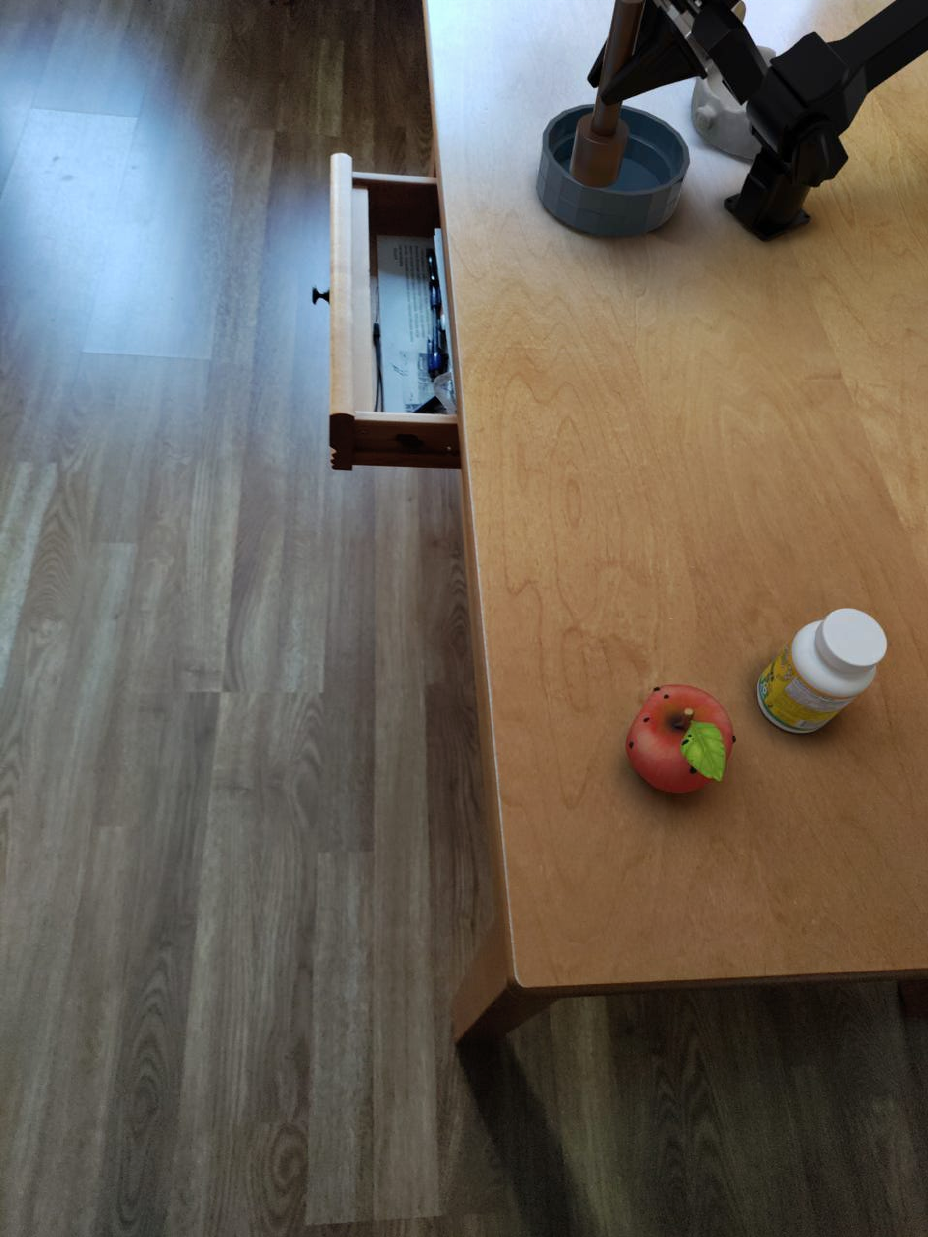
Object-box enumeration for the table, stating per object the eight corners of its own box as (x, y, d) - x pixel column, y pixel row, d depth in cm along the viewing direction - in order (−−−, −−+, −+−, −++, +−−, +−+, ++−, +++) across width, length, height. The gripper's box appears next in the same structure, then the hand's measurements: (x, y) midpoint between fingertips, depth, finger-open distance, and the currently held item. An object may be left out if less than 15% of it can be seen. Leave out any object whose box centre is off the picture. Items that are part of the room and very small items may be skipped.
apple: (592, 732, 58) (627, 670, 50) (678, 698, 60) (726, 632, 51) (647, 837, 55) (694, 790, 46) (735, 798, 57) (797, 745, 48)
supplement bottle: (805, 750, 59) (874, 694, 50) (739, 702, 60) (795, 639, 52) (842, 696, 61) (913, 634, 53) (777, 651, 62) (837, 583, 54)
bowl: (617, 136, 91) (629, 88, 87) (703, 214, 86) (720, 167, 82) (507, 174, 87) (513, 126, 82) (591, 259, 82) (602, 212, 77)
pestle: (627, 168, 76) (670, -8, 64) (605, 194, 74) (645, 18, 62) (583, 150, 77) (618, -28, 64) (560, 175, 75) (591, -3, 63)
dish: (720, 74, 98) (735, 27, 94) (830, 124, 95) (851, 77, 91) (658, 131, 92) (672, 84, 88) (774, 186, 89) (793, 139, 85)
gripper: (660, -241, 59) (496, -41, 67) (794, -114, 51) (590, 98, 59) (723, -112, 68) (571, 53, 75) (846, 15, 60) (663, 185, 67)
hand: (596, 92), depth 69 cm, fingers closed on pestle, 2 cm apart
